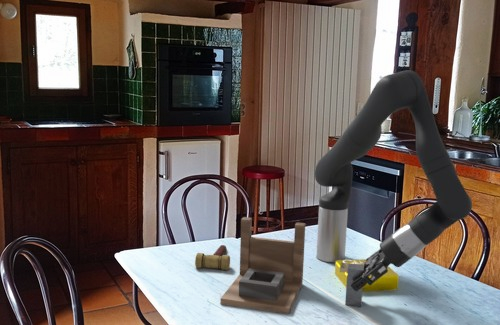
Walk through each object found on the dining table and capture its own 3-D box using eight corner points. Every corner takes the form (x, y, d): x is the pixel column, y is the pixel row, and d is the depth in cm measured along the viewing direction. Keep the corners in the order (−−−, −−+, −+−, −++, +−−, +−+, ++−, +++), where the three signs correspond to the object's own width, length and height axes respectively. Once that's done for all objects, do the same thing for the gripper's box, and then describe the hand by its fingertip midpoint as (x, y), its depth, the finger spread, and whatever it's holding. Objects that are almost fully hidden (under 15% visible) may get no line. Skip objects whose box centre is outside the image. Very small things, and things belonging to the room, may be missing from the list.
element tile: (349, 293, 147) (350, 276, 147) (332, 273, 162) (333, 258, 161) (400, 291, 150) (401, 275, 149) (379, 271, 164) (380, 257, 164)
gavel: (210, 238, 181) (239, 240, 180) (210, 251, 181) (238, 254, 180) (195, 255, 160) (227, 257, 159) (194, 269, 161) (227, 272, 159)
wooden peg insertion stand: (241, 276, 156) (243, 216, 153) (302, 284, 152) (305, 223, 149) (220, 303, 137) (221, 236, 134) (288, 314, 133) (292, 244, 130)
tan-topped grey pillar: (339, 297, 143) (341, 262, 141) (361, 301, 142) (364, 265, 140) (337, 303, 139) (339, 267, 138) (360, 307, 138) (363, 270, 136)
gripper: (393, 226, 141) (347, 262, 146) (393, 242, 128) (342, 281, 133) (412, 247, 141) (365, 283, 146) (414, 265, 127) (362, 304, 132)
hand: (354, 282), depth 139 cm, fingers open, 8 cm apart
